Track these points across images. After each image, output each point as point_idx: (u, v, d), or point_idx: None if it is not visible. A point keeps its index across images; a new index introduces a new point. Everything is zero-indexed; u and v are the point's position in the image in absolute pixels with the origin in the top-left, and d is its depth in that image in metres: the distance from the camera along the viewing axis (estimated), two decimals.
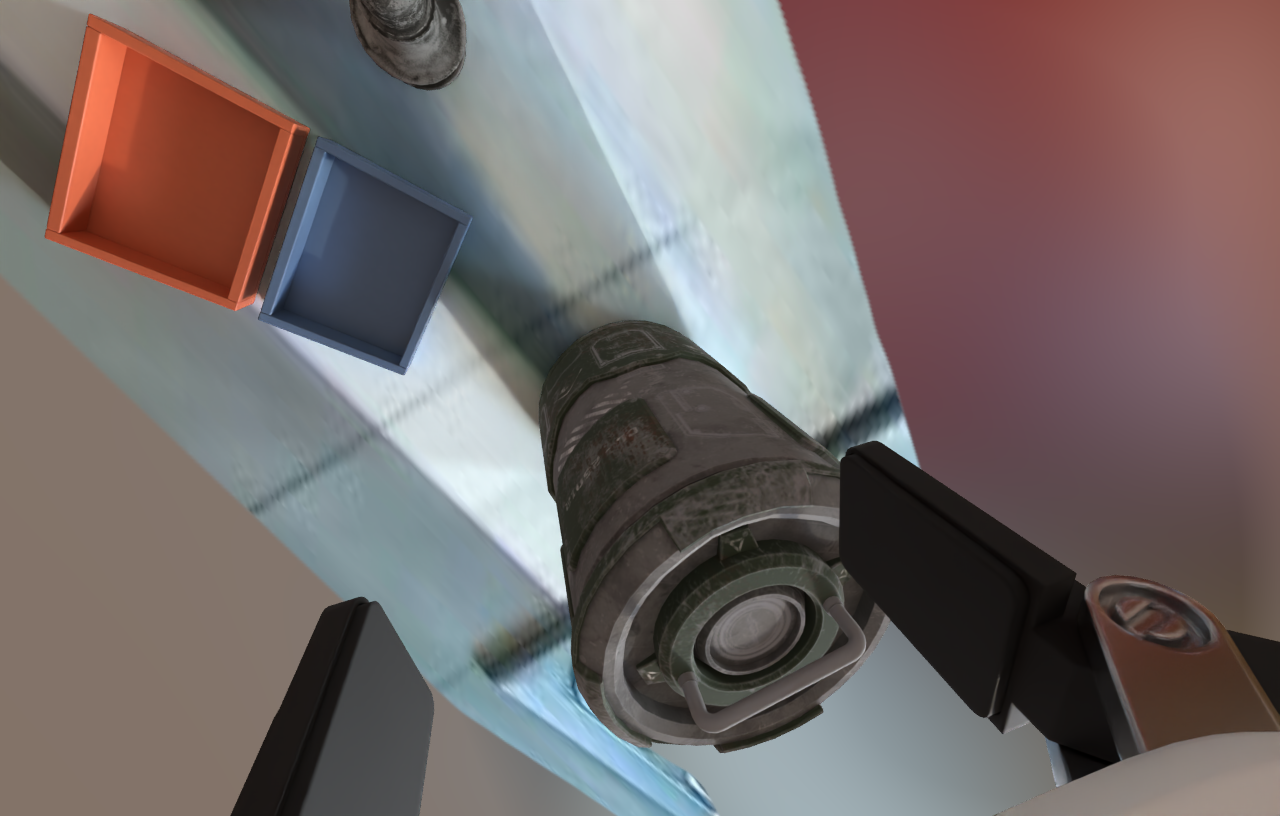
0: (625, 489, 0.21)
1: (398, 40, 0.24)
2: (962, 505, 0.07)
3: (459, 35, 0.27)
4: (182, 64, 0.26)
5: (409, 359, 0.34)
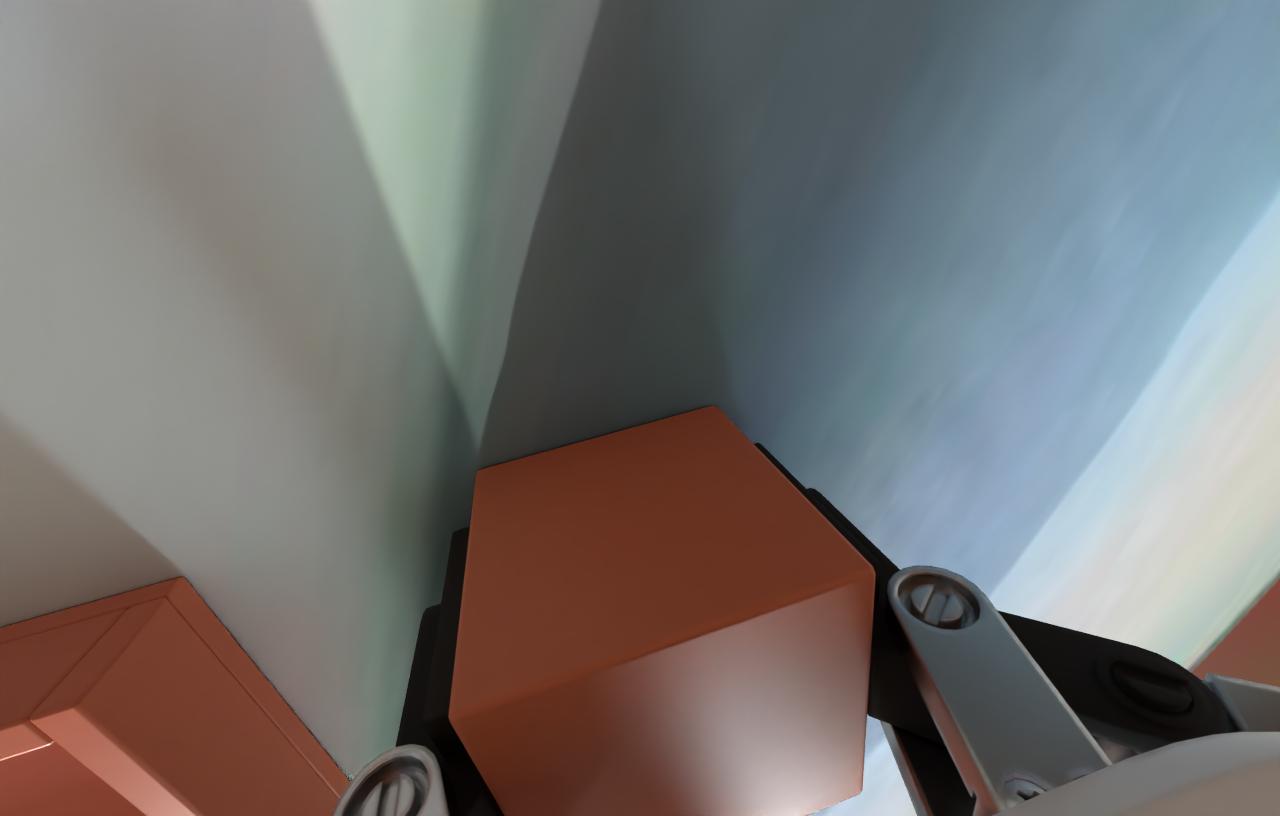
0: None
1: None
2: None
3: None
4: None
5: None
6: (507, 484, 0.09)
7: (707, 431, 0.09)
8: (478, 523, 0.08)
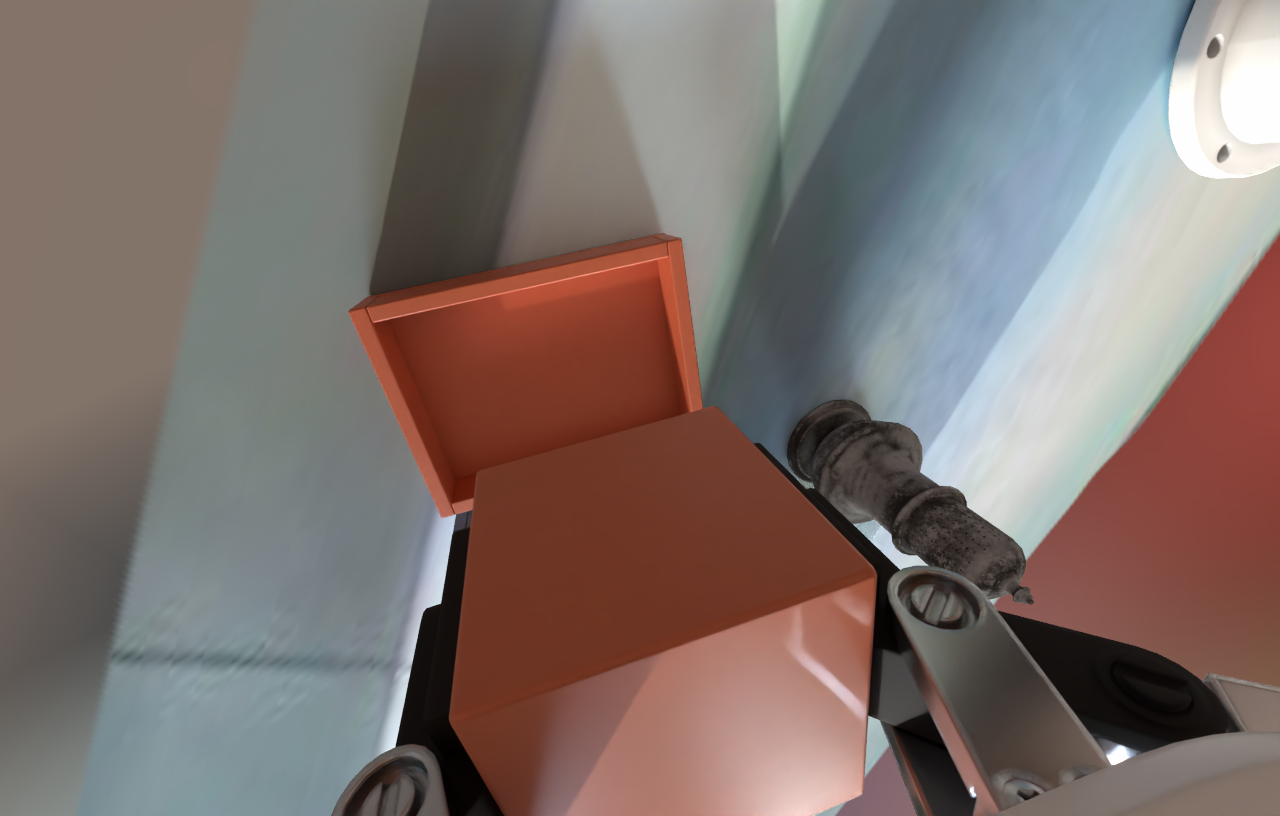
0: None
1: (896, 546, 0.21)
2: None
3: None
4: (692, 335, 0.20)
5: None
6: (507, 485, 0.09)
7: (708, 431, 0.09)
8: (478, 524, 0.08)
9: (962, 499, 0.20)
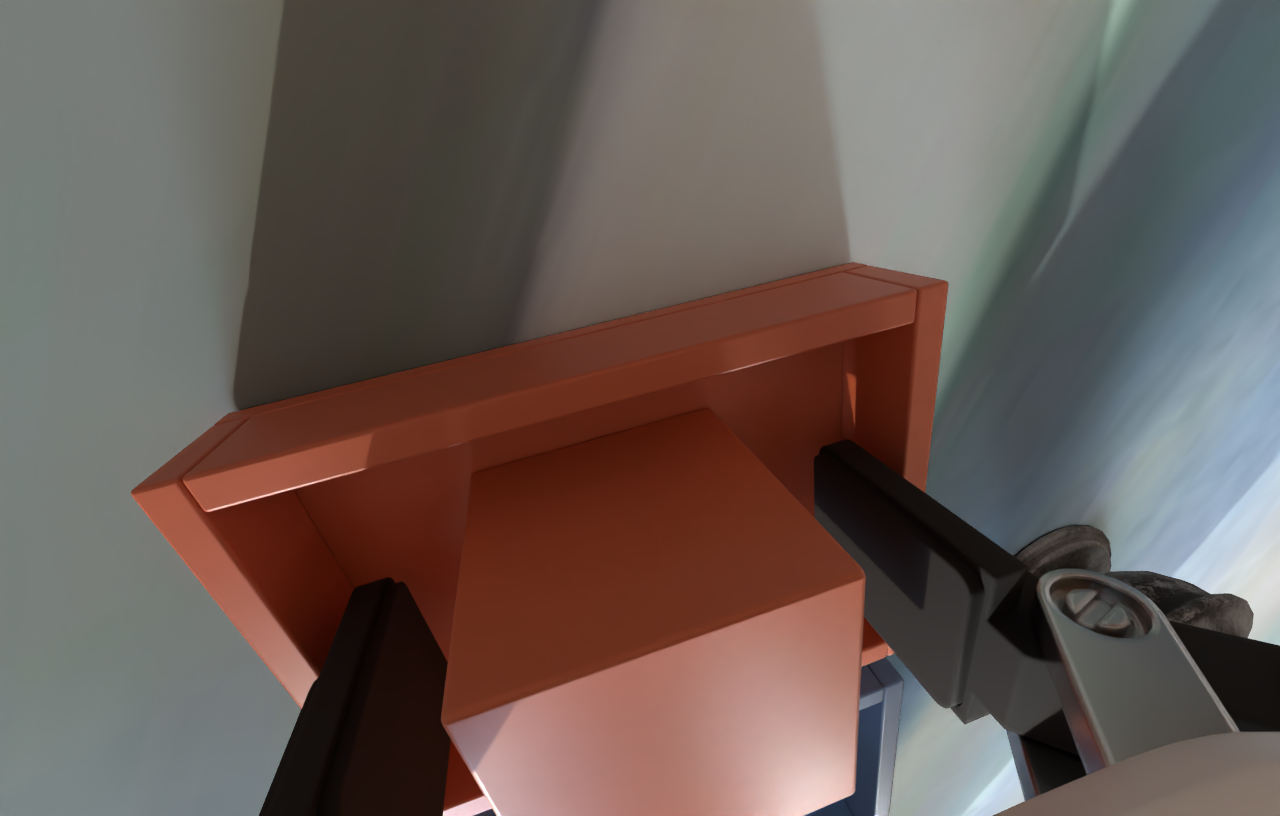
0: None
1: None
2: (925, 502, 0.08)
3: None
4: (925, 475, 0.10)
5: None
6: (502, 487, 0.09)
7: (700, 433, 0.09)
8: (471, 526, 0.08)
9: None
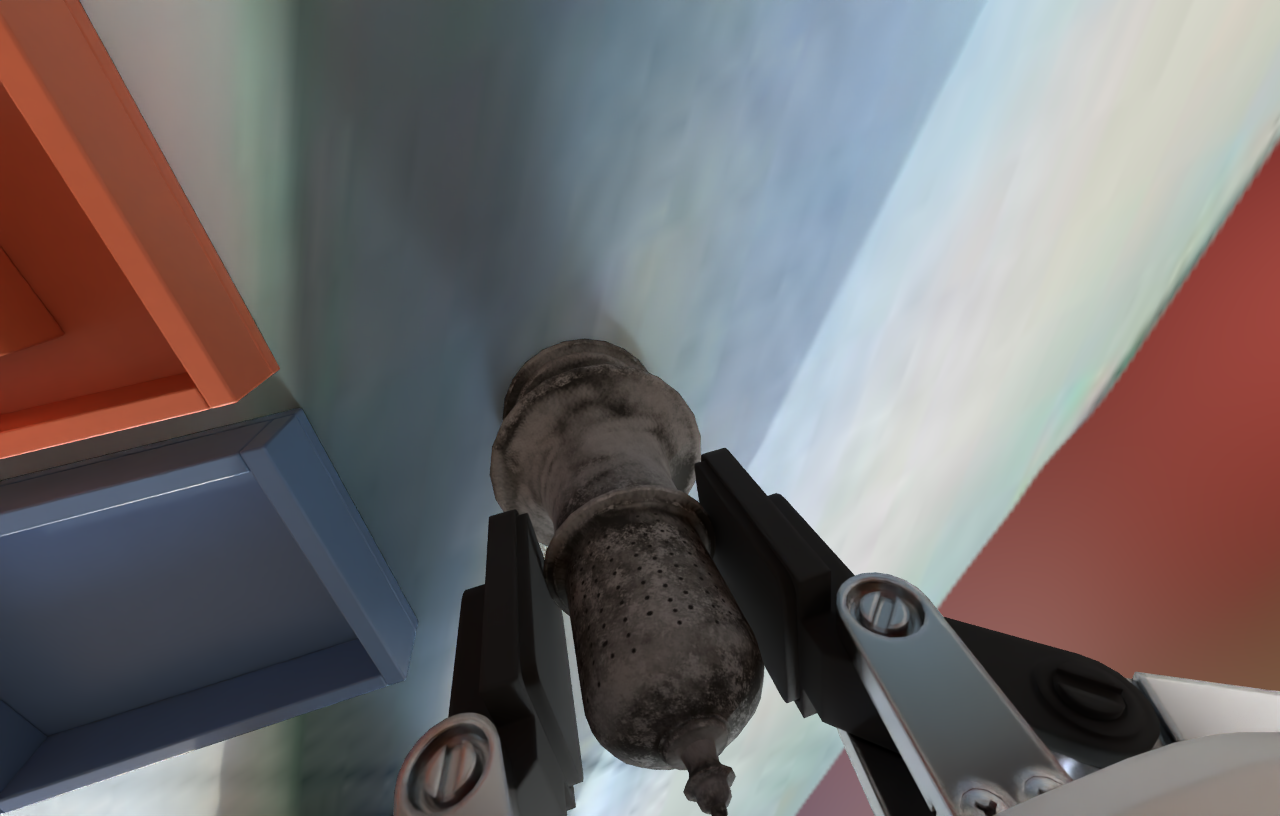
0: None
1: (564, 611, 0.10)
2: (768, 509, 0.08)
3: None
4: (80, 153, 0.09)
5: (31, 803, 0.14)
6: None
7: None
8: None
9: (694, 513, 0.10)
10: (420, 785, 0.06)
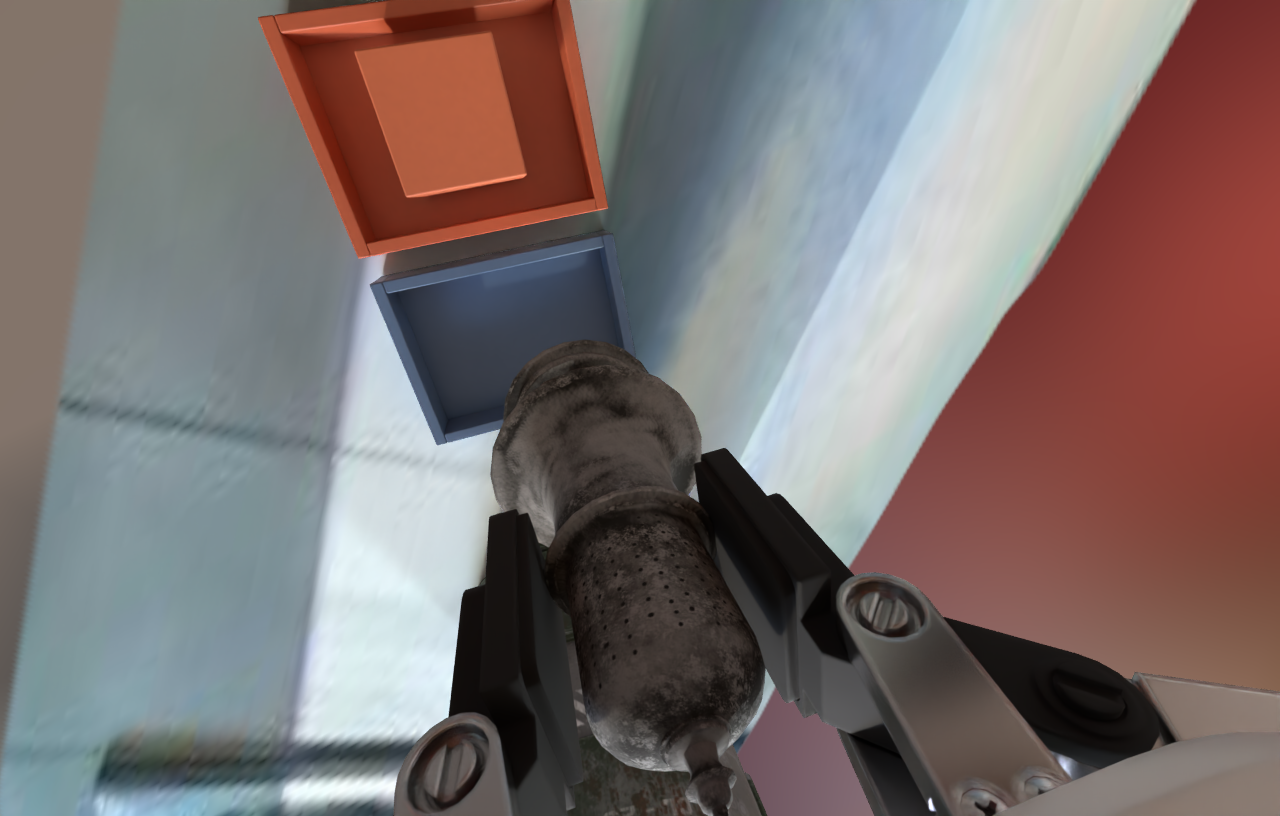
0: None
1: (565, 612, 0.10)
2: (768, 509, 0.08)
3: None
4: (584, 85, 0.22)
5: (460, 438, 0.27)
6: None
7: None
8: None
9: (694, 514, 0.10)
10: (420, 785, 0.06)
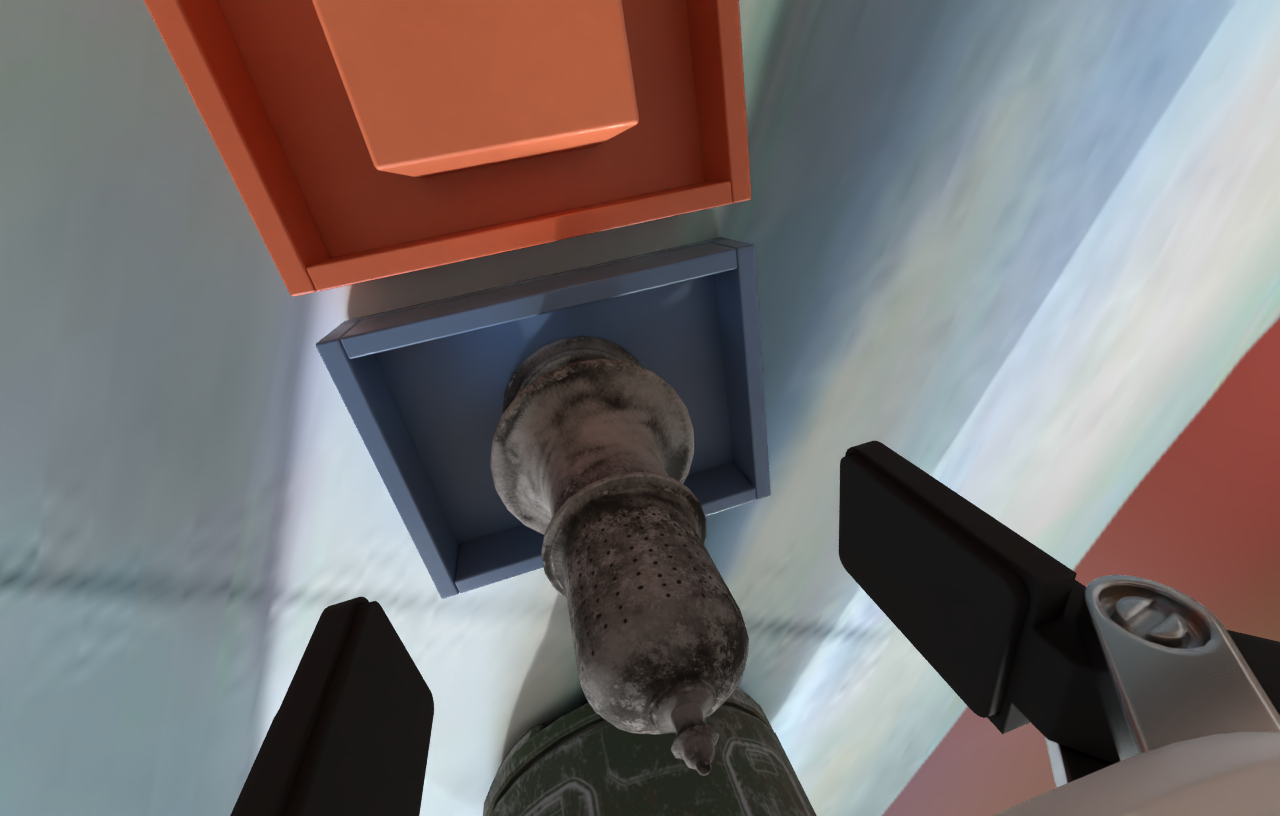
0: None
1: (562, 593, 0.10)
2: (962, 505, 0.07)
3: None
4: None
5: (480, 585, 0.16)
6: None
7: None
8: None
9: (684, 499, 0.10)
10: None
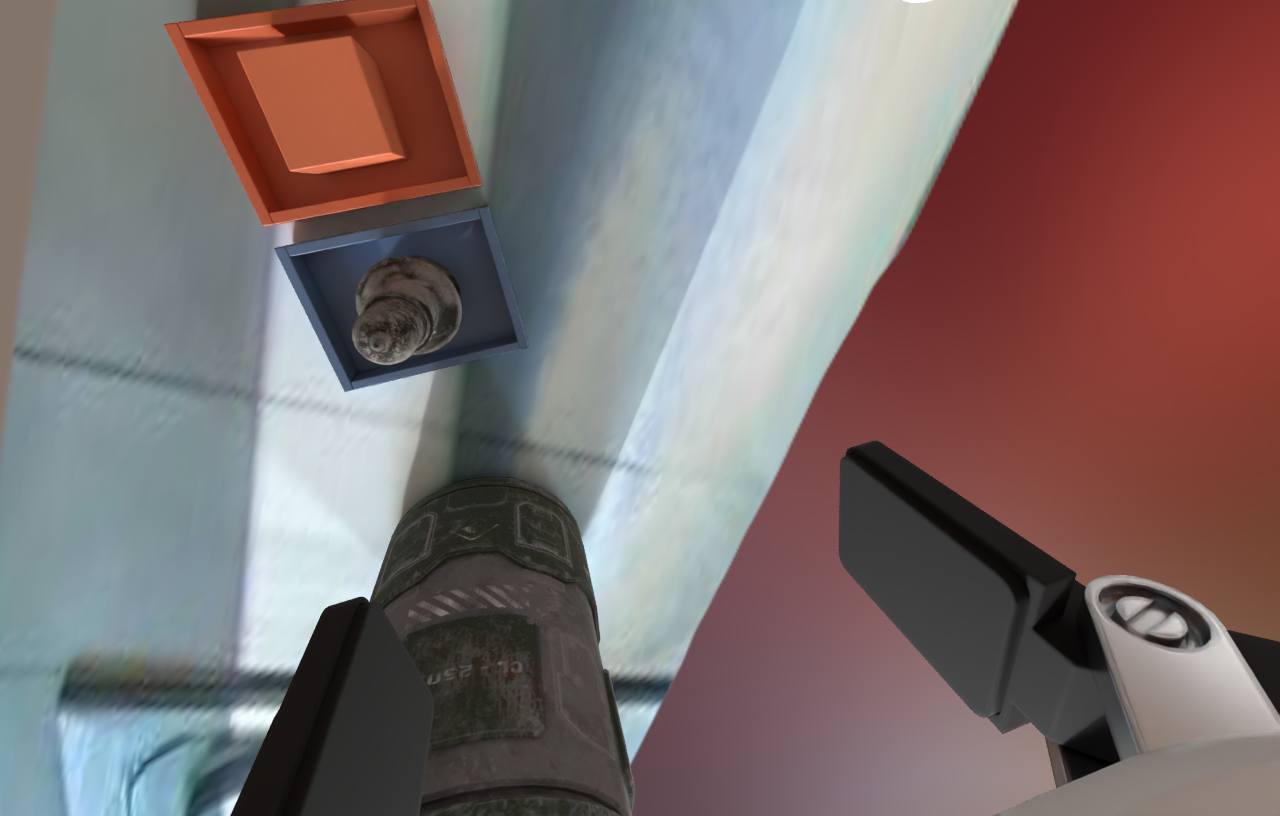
0: (480, 738, 0.20)
1: None
2: (962, 505, 0.07)
3: (438, 343, 0.30)
4: (449, 80, 0.26)
5: (365, 386, 0.32)
6: None
7: None
8: None
9: (417, 302, 0.25)
10: None
